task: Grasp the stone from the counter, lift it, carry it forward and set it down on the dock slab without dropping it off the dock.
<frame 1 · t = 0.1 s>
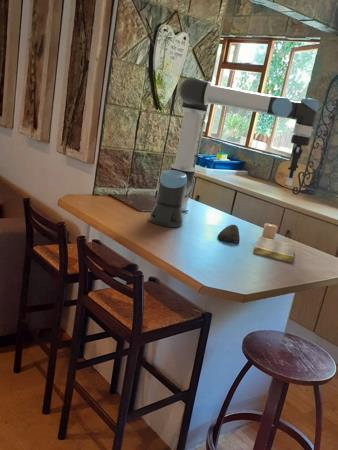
hand: (289, 183, 196), 28 cm above the worktop, fingers open, 13 cm apart
stone: (227, 240, 194), on the worktop
dock: (273, 251, 189), on the worktop
peach rounded capsule: (267, 239, 206), on the worktop
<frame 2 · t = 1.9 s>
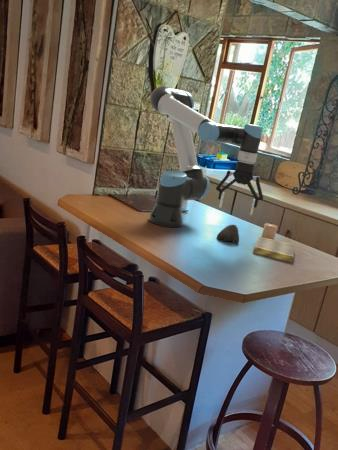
hand: (235, 210, 190), 13 cm above the worktop, fingers open, 13 cm apart
nothing on the worktop moved.
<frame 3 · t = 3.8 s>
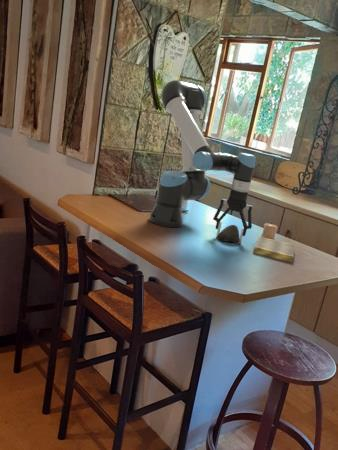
hand: (228, 239, 194), 0 cm above the worktop, fingers open, 9 cm apart
nothing on the worktop moved.
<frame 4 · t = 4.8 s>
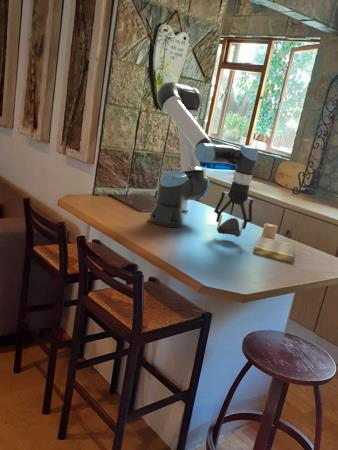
hand: (228, 232, 194), 3 cm above the worktop, fingers closed on stone, 9 cm apart
stone: (228, 234, 193), point 3 cm above the worktop, touching gripper
everything else where it was.
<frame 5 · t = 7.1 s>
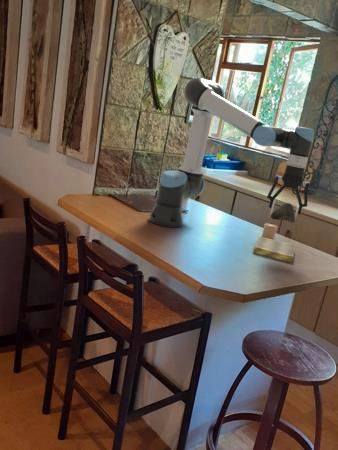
hand: (282, 218, 185), 15 cm above the worktop, fingers closed on stone, 9 cm apart
stone: (281, 220, 184), point 14 cm above the worktop, touching gripper
everything else where it was.
when the fingers open (5 cm above the worktop, at t = 9.7 s): stone drops 2 cm, resting on dock.
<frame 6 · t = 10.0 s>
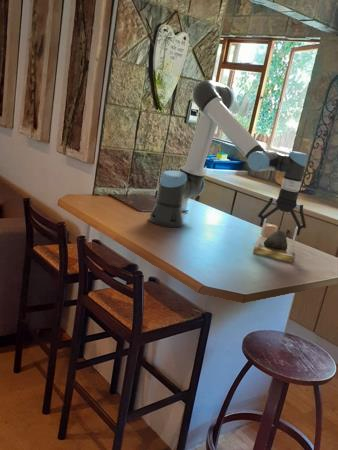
hand: (277, 238, 188), 6 cm above the worktop, fingers open, 13 cm apart
stone: (274, 247, 188), point 2 cm above the worktop, touching dock
everything else where it was.
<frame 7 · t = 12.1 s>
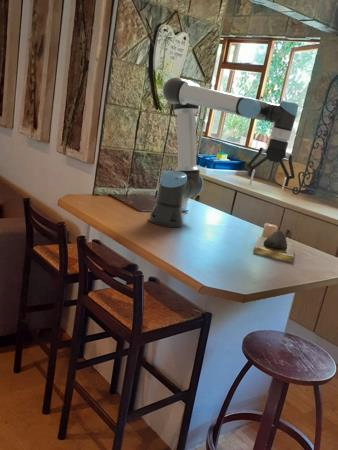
hand: (265, 188, 189), 25 cm above the worktop, fingers open, 13 cm apart
nothing on the worktop moved.
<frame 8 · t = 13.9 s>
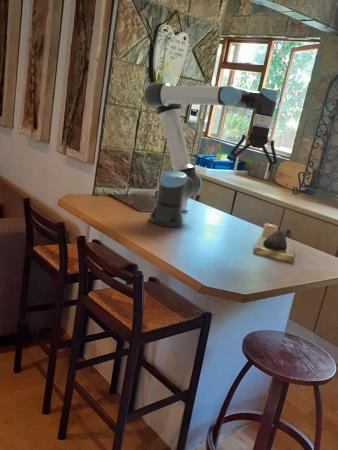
hand: (249, 175, 193), 29 cm above the worktop, fingers open, 13 cm apart
nothing on the worktop moved.
at the end: stone 1.5 cm from the dock (horizontally); stone point 2.2 cm above the worktop; stone touching dock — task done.
